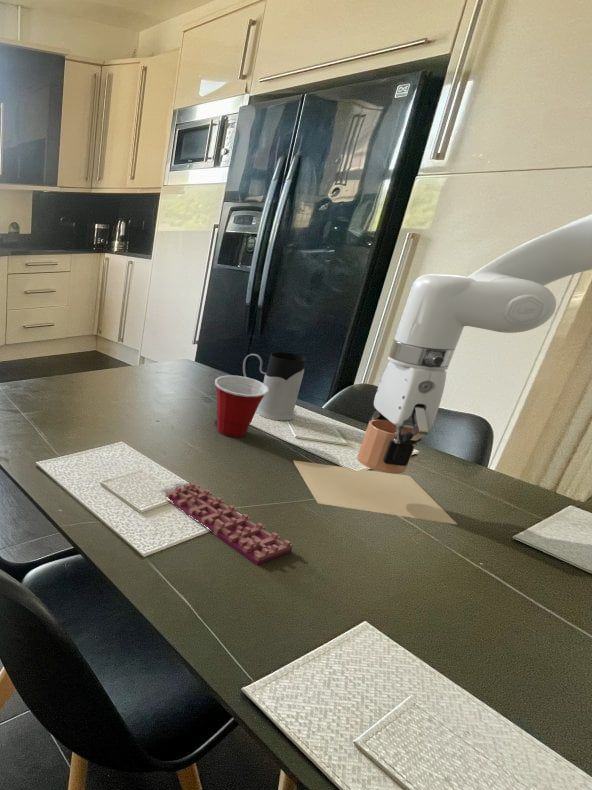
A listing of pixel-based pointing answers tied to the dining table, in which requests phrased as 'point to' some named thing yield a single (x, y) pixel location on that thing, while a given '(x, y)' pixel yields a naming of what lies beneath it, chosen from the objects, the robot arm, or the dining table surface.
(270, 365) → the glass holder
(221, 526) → the maroon flat bar
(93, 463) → the dining table surface
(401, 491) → the mat
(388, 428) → the peach cup
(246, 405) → the plastic cup
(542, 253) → the robot arm
